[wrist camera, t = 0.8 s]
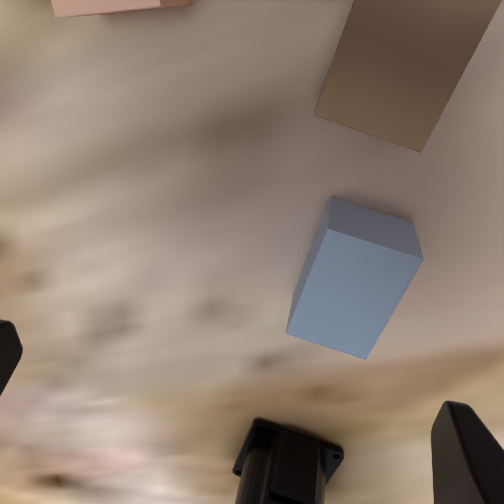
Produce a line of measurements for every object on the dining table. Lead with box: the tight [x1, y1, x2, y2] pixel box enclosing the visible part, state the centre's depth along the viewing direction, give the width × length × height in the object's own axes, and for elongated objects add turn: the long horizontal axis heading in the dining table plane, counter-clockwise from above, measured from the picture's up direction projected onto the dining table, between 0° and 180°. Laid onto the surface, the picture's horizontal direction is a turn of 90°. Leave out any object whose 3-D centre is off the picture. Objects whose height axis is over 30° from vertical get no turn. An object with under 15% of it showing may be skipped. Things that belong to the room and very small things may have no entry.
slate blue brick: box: [286, 197, 423, 360], centre depth 20 cm, size 6×4×4 cm, turn 166°
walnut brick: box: [314, 0, 502, 153], centre depth 15 cm, size 6×4×4 cm, turn 164°
